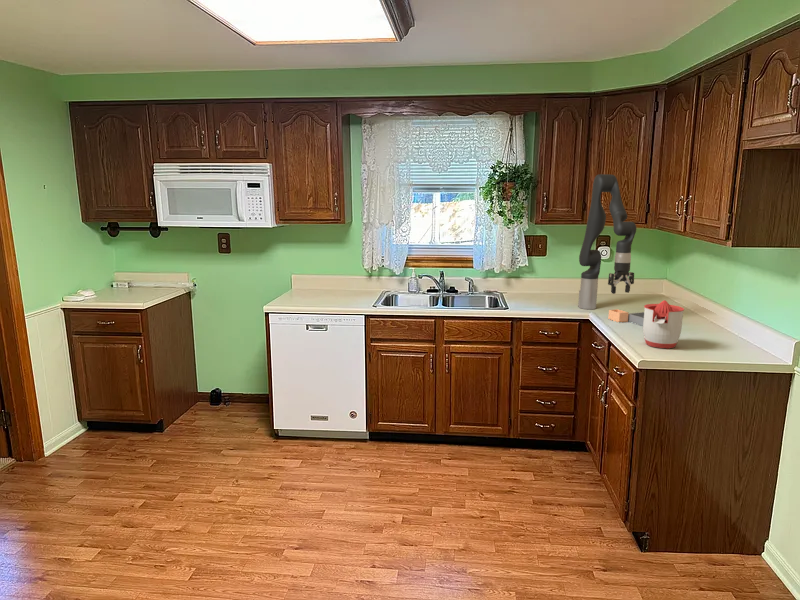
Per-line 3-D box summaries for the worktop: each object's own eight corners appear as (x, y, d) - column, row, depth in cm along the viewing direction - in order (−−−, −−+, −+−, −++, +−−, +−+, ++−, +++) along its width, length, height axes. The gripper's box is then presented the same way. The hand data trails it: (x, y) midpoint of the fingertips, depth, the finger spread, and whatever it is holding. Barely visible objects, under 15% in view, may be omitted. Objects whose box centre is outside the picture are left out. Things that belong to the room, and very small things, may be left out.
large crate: (626, 321, 288) (627, 313, 287) (648, 319, 292) (649, 311, 291) (644, 326, 276) (644, 318, 276) (666, 324, 281) (667, 316, 280)
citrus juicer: (636, 347, 240) (640, 301, 236) (644, 338, 254) (648, 295, 250) (676, 353, 231) (681, 306, 227) (682, 344, 245) (687, 299, 241)
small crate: (608, 319, 291) (609, 310, 290) (616, 318, 293) (617, 309, 292) (618, 322, 284) (619, 313, 283) (627, 321, 286) (628, 312, 285)
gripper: (628, 260, 289) (626, 291, 292) (606, 261, 284) (603, 292, 287) (639, 261, 282) (636, 293, 285) (616, 262, 277) (613, 295, 280)
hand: (620, 293), depth 286 cm, fingers open, 8 cm apart
